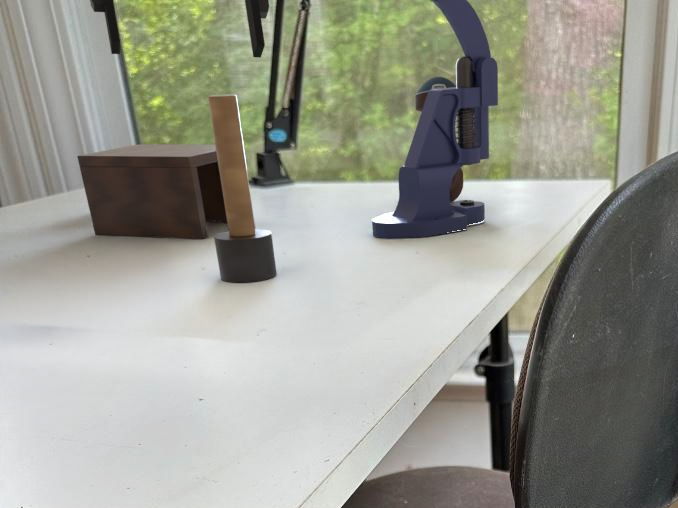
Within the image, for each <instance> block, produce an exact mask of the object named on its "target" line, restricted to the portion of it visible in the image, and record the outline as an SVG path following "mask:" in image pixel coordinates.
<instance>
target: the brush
mask: <svg viewBox="0 0 678 508" xmlns="http://www.w3.org/2000/svg"><path fill="white" fill-rule="evenodd" d="M207 103H208V108H209V114H210V115H209V116H210V120H211V128H212V132H213V140H214V145H215V147H216V153H217V159H218V166H219V172H220V179H221V185H222V191H223V198H224V204H225V211H226V217H227V222H226V223H227V229H228V230H227V231H223V232H219V233H217V234H214V236H213V239H214V245H215V252H216V257H217V264H218V269H219V276H220V279H221V281H224V282H228V283H234V284H235V283H239V284H240V283H241V284H242V283H243V284H244V283H246V284H247V283H255V282H262V281H266V280H270V279H272V278H275V277H276V276H277V274H278V273H277V266H276V258H275V251H274V244H273V243H274V242H273V236H272V235H273V234H272V232H271V231H270V230H267V229H262V228H256V225H255V224H256V223H255V216H254V210H253V204H252V195H251V188H250V181H249V175H248V168H247V167H248V166H247V160H246V154H245V147H244V146H245V145H244V139H243V132H242V126H241V125H242V124H241V116H240V109H239V104H238V96H237V94H214V95H208V96H207Z"/></svg>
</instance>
